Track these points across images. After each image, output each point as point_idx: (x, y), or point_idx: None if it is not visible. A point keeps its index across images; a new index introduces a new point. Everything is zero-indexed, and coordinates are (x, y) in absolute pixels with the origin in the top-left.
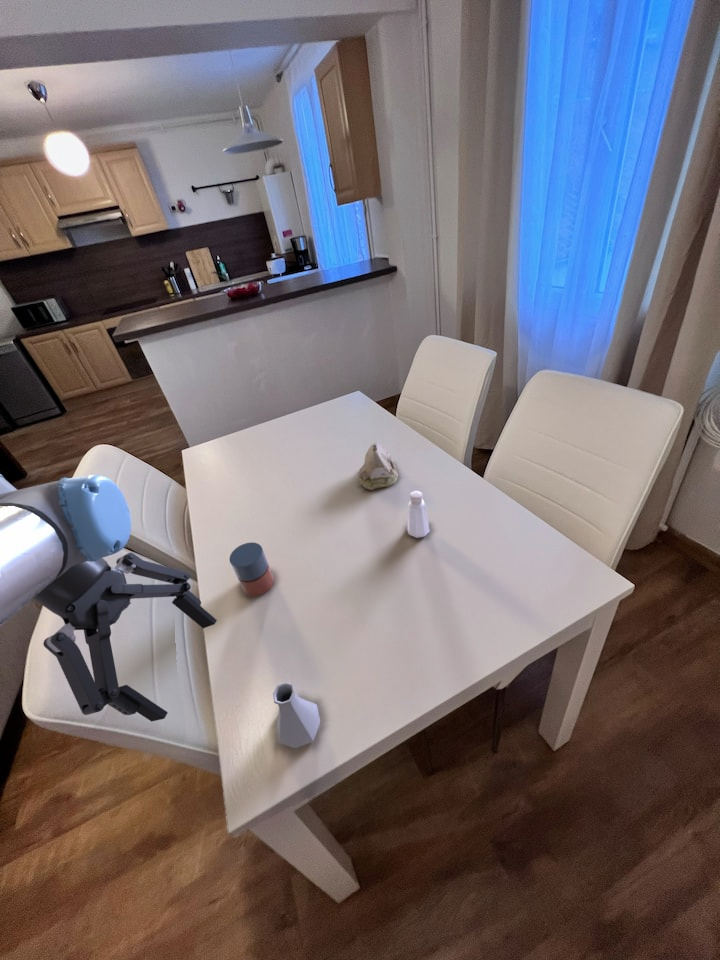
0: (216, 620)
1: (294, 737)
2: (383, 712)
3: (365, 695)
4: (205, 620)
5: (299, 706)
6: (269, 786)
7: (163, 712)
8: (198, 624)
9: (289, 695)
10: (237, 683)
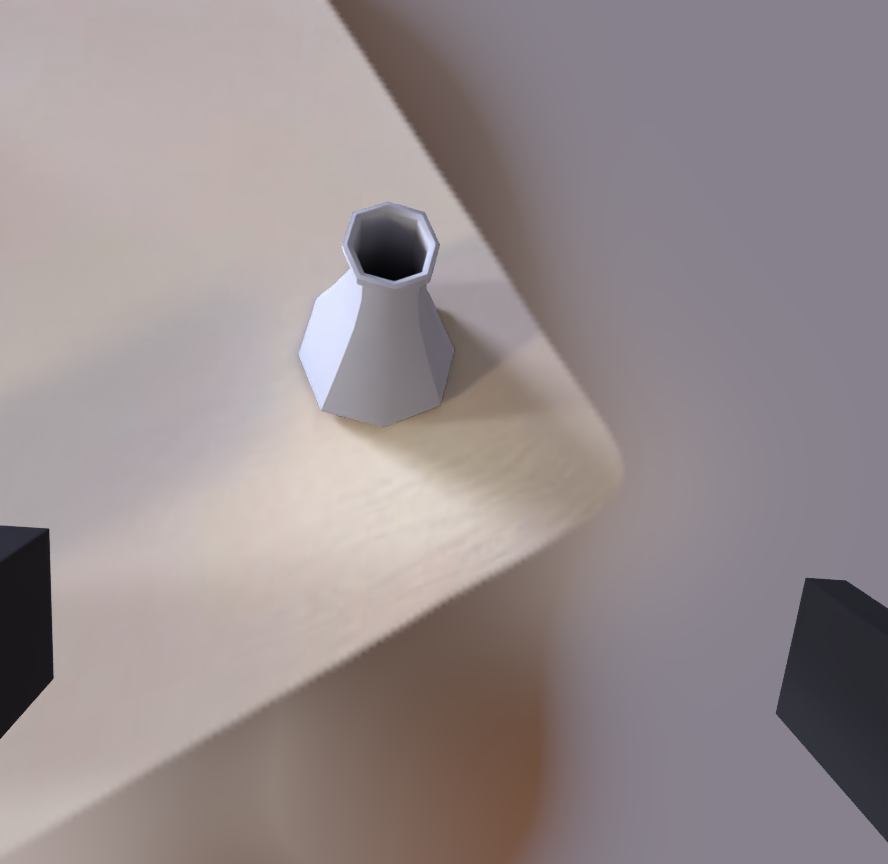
0: (5, 528)
1: (444, 329)
2: (339, 106)
3: (285, 154)
4: (5, 609)
5: (388, 258)
6: (554, 412)
7: (839, 591)
8: (20, 714)
9: (346, 301)
10: (219, 640)
